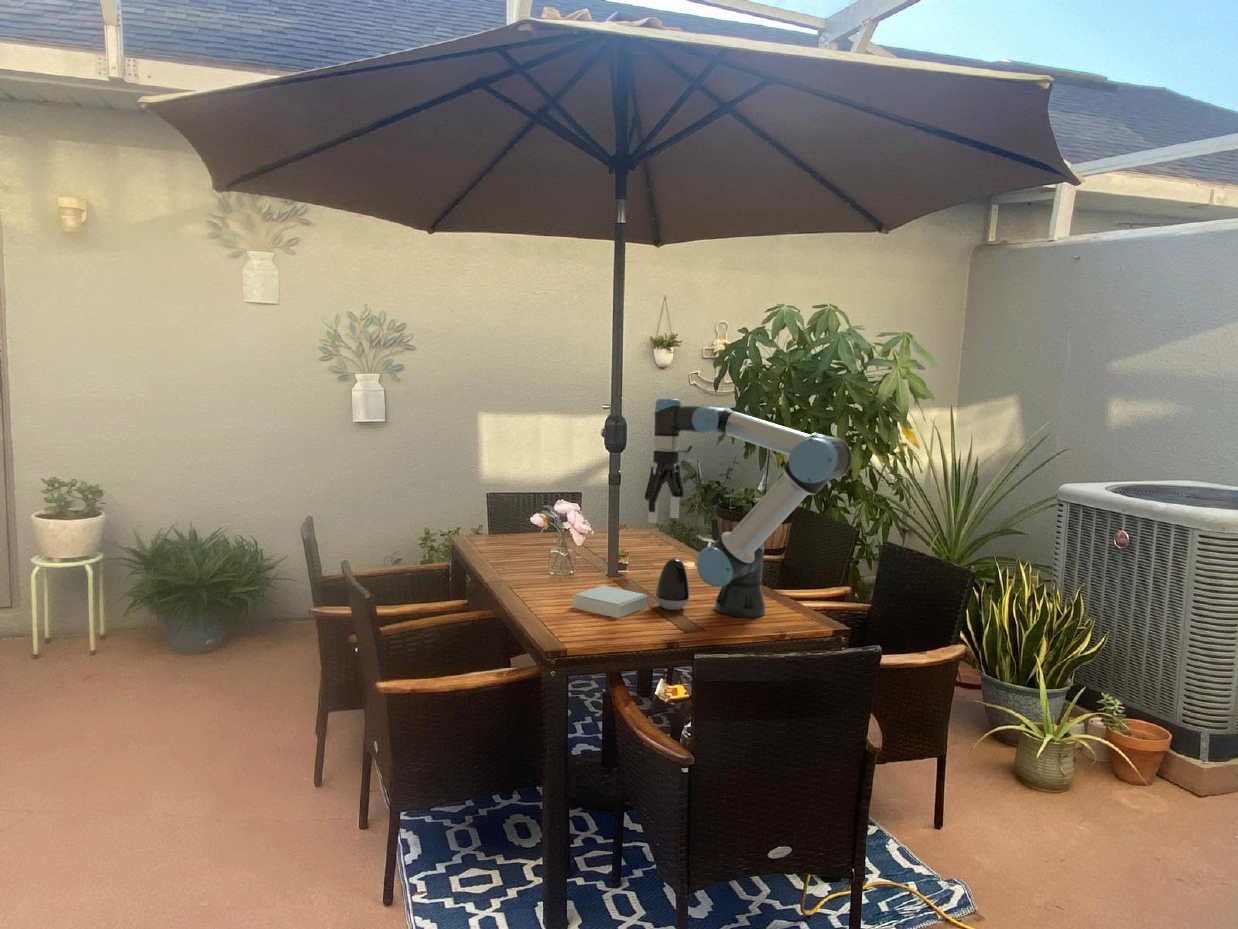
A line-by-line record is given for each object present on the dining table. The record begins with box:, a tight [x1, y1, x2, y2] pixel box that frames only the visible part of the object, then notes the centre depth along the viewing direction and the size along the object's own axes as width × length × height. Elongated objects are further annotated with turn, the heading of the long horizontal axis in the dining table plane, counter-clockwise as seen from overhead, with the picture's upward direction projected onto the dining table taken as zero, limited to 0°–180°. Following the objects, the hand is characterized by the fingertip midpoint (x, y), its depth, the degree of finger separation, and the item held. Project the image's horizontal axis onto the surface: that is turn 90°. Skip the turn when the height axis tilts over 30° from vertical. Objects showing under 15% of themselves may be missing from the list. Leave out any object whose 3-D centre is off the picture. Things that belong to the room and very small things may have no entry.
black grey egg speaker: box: [655, 558, 691, 611], centre depth 251 cm, size 10×10×15 cm
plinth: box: [572, 585, 648, 619], centre depth 248 cm, size 16×16×4 cm
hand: (663, 520), depth 251 cm, fingers open, 13 cm apart
